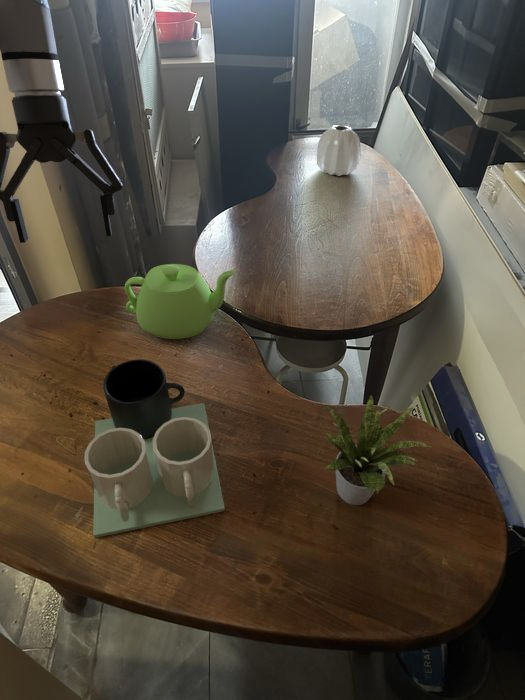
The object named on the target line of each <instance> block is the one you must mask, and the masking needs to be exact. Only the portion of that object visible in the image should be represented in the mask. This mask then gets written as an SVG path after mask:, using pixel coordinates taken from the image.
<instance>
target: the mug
mask: <svg viewBox="0 0 525 700" xmlns="http://www.w3.org/2000/svg"><path fill="white" fill-rule="evenodd" d="M102 389H103V393H104V396H105V399H106V403H107V406H108V409H109V412H110V415H111V418H112V419H113V422H114V426H115V428H127V429H132V430H134V431H135V432H137V433H139V434H140V435H141V436H142V438H143V439H148V438H151V437H154V435H155V433H156V431H157V430H158V429H159V428H160V427H161V426H162V425H163V424H164V423H166V422H168V421H170V420H171V416H172V410H171V408H172V405H173V404H176V403H178V402H180V401H181V400H183V399H184V397H185V392H186V390H185V388H184V386H183V385H182V384H180V383H178V382H168V381H167V375H166V372H165V370H164V369H163V367H161V365H160V364H159V363H156V362H155V361H152V360H149V359H142V358H138V359H129V360H126V361H123V362H121V363H119V364H117V365H115V366H114V367H113V368H112V369H110V370H109V371H108V372H107V374H106V375H105V377H104V379H103V383H102ZM170 389H175V390H177V391H178V392H179V393H178V395H177V396H175V397H170V392H169V390H170Z"/></svg>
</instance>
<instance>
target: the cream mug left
mask: <svg viewBox="0 0 525 700" xmlns="http://www.w3.org/2000/svg"><path fill="white" fill-rule="evenodd" d="M129 463H131V464H134V465H133V466H132V467H131V468H129V469H128V470H126V471H124V472H122V473H118V474H112V475H108V473H109V472H110V471H111V470H112V469H114V468H116V467H117V466H119V465H123V464H129ZM84 464H85V467H86V469H87V472H88V474H89V477H90V479H91V482H92V484H93V488H94V487H95V489H96V492H97V494H98V496H99V498H100V500H101V502H102V503H103V504H105V505H106V506H108V507H109V508H113V509H118V511H119V513H120V516H121V519H122V521H123V522H127V521H128V520H129V508H132V507H134V506H136V505H138V504H139V503H141V502H143V501H144V500H145V498H146V497H147V496H148V495H149V494H150V492H151V490H152V487H153V484H154V481H153V473H152V469H151V464H150V460H149V456H148V452H147V448H146V444H145V441H144V439H143V438H142V436H141V435H140V434H139V433H137V432H135V431H134V430H132V429H127V428H115V429H109V430H107V431H105V432H103V433H101V434H99V435H98V436H96V437H95V436H94V438H93V439H92V440H91V441H90V442H89V443H88V445H87V447H86V449H85V451H84Z"/></svg>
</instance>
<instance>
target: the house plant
mask: <svg viewBox="0 0 525 700" xmlns="http://www.w3.org/2000/svg"><path fill="white" fill-rule="evenodd" d="M378 404H379V403H378V402H377V404H376V408H375V409H374V398H373V393H371V394H370V395H369V398H368V400H367V402H366V405H365V409H364V413H363V417H362V421H361V423H360V426H359V431H358V435H357V442H356V443H357V444H355V442H354V440H353V436H352V434H351V431H350V429H349V427H348V425H347V422H346V421H345V419H344V418H343V417H342V416H341V415H340V414H338V413H337V412H336V411H335V410H334V409H333V408H332V407H330V406H327V405H325V407H326V409H327V411H329V413H330V416H331V417H332V418H333V420H334V421H335V424H336V426H337V427H338V435H335V434H332V433H326V436H327V440H328V441H329V442H330V444H332V445H333V446H334V447H335V448H336V449H337V450H338V451H339V453H338V454H337V456H336V457H335V458H336V459H333V460H331V461H330V462H329V463H328V464H327V465H326V466H325V467H324V468H323V469H324V470H326V469H327V470H331V471H335V483H336V486H335V487H336V493H337V495H338V496H339V497H340V498H341V499H342V501H344V502H345V503H346V504H348V505H352V506H362V505H364V504H366V503H367V502H368V501H369V500H370V499H371V497H372V496H373V495H374V494H375V492H376V494H378V493H379V492H380V491H381V490H382V489H383V488H384V487H385V485H386V477H387V479H389V481H390V483H391V484H392V485H393V486H395V481H394V477H393V474H392V472H391V469H390V468H389V467H391V466H403V465H412V466H419V464H418V463H415V462H419V460H418V459H416V458H415V457H411V456H408V455H407V453H405V452H404V451H401V450H398V449H405V448H413V447H423V448H433V446H432V445H430V444H427V443H425V442H421V441H417V440H399V441H395V442H392V443H390V444H388V445H387V446H385V447H383V446H384V445H385V444H386V443H387V442H388V441H389V440H390V439H391V438H392V437H393V435H394V434H395V433H396V432H397V431H398V430H399V429H400V428H401V426H402V425H403V423H404V422H405V421H406V420H407V417H408V416H409V415H410V414H411V413H412V411H413V409H414V406H412V407H411V408H409V409H407V410H405V411H404V412H402V413H401V414H399V416H398V417H396V419H395V420H393V421H392V422H390V423H388V424H386V425H385V426H380V425H381V415H382V414H383V413H385V412H387V410H389V409H390V408H391V407H392V405H390V406H388V407H386V408H385V409H383V410H380V408H379V405H378Z"/></svg>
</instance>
